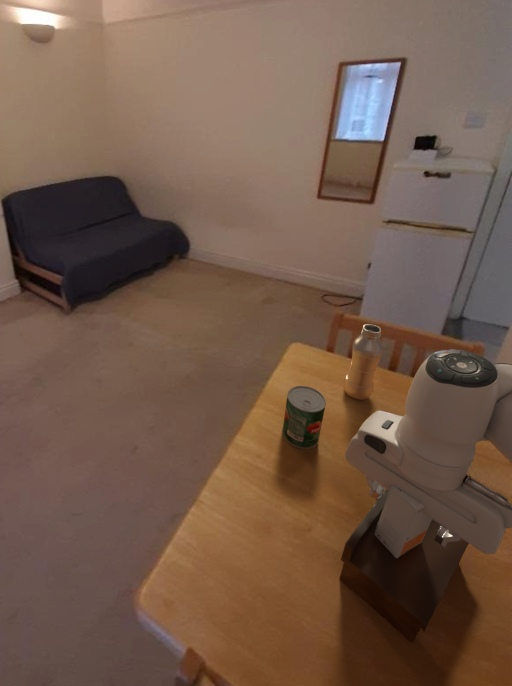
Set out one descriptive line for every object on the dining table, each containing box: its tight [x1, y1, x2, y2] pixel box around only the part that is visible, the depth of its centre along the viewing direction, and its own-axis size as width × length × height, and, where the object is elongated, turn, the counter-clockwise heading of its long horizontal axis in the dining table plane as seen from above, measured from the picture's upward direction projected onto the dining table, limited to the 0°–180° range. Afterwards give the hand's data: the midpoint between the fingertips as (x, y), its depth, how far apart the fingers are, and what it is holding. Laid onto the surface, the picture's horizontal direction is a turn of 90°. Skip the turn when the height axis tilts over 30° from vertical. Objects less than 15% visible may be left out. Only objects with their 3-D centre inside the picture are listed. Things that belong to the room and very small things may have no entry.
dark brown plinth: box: [339, 488, 470, 644], centre depth 65 cm, size 12×18×9 cm, turn 129°
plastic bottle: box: [343, 323, 385, 401], centre depth 98 cm, size 6×7×20 cm
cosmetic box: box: [374, 486, 432, 558], centre depth 62 cm, size 6×4×12 cm
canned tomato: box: [281, 385, 327, 450], centre depth 89 cm, size 8×8×11 cm
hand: (406, 516), depth 63 cm, fingers open, 8 cm apart
